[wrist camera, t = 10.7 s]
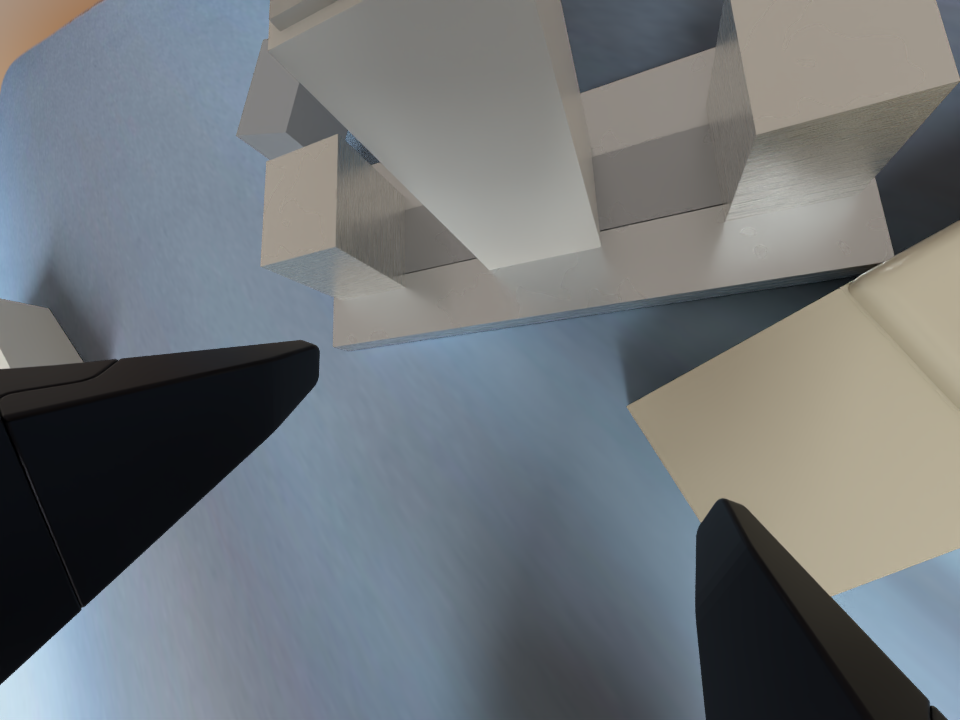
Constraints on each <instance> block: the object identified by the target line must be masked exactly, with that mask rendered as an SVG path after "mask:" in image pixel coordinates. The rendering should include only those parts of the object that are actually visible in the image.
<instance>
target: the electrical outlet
mask: <svg viewBox="0 0 960 720" xmlns="http://www.w3.org/2000/svg"><path fill="white" fill-rule="evenodd" d="M626 407H627V408H628V410H629V411H630V413H631V415H632V416H633V418H634V419H635V421H636V422H637V424H638V425H639V427H640V429H641V430H642V432H643V433H644V435H645V436H646V438H647V439H648V441H649V443H650V444H651V446H652V447H653V449H654V450H655V452H656V454H657V455H658V457H659V458H660V460H661V461H662V463H663V464H664V466H665V468H666V469H667V471H668V472H669V474H670V475H671V477H672V478H673V480H674V482H675V483H676V485H677V486H678V488H679V489H680V491H681V492H682V494H683V496H684V497H685V499H686V500H687V502H688V503H689V505H690V506H691V508H692V510H693V511H694V513H695V514H696V516H697V517H698V519H699V521H700V522H702V521H703V520H704V518H705V517H706V515H707V514H708V512H709V511H710V509H711V508H712V506H713V505H714V504H715V502H716V501H717V500H718V499H721V498H726V499H728V500H731V501H734V502H736V503H739V504H742V505H744V506H745V507H746V508H747V509H748V510H749V511H750V512H751V513H752V514H753V515H754V516H755V517H756V518H757V519H758V520H759V522H760V523H761V524H762V525H763V526H764V527H765V528H766V529H767V530H768V531H769V532H770V533H771V534H772V535H773V536H774V537H775V538H776V539H777V540H778V542H779V543H780V544H781V545H782V546H783V547H784V548H785V549H786V550H787V551H788V552H789V553H790V554H791V555H792V556H793V557H794V558H795V559H796V561H797V562H798V563H799V564H800V565H801V566H802V567H803V568H804V569H805V570H806V571H807V572H808V573H809V574H810V575H811V576H812V577H813V578H814V579H815V581H816V582H817V583H818V584H819V585H820V586H821V587H822V588H823V589H824V590H825V591H826V592H827V593H828V594H829V595H830V596H834V595H836V594H839V593H842V592H844V591H847V590H850V589H852V588H855V587H858V586H860V585H863V584H865V583H868V582H871V581H873V580H876V579H879V578H881V577H884V576H887V575H889V574H892V573H895V572H897V571H900V570H903V569H905V568H908V567H911V566H913V565H916V564H919V563H921V562H924V561H927V560H929V559H932V558H935V557H937V556H940V555H943V554H945V553H948V552H950V551H953V550H956V549H958V548H960V220H958V221H957V222H955V223H953V224H951V225H949V226H948V227H946V228H944V229H942V230H940V231H939V232H937V233H935V234H933V235H931V236H930V237H928V238H926V239H924V240H922V241H921V242H919V243H917V244H915V245H913V246H912V247H910V248H908V249H906V250H904V251H903V252H901V253H899V254H897V255H895V256H894V257H892V258H890V259H888V260H886V261H885V262H883V263H881V264H879V265H877V266H876V267H874V268H872V269H870V270H868V271H867V272H865V273H863V274H861V275H860V276H859V277H857V278H856V279H855V280H853V281H851V282H849V283H847V284H846V285H844V286H842V287H840V288H839V289H837V290H835V291H833V292H831V293H829V294H828V295H826V296H824V297H822V298H820V299H819V300H817V301H815V302H813V303H811V304H810V305H808V306H806V307H804V308H802V309H801V310H799V311H797V312H795V313H793V314H792V315H790V316H788V317H786V318H784V319H783V320H781V321H779V322H777V323H775V324H774V325H772V326H770V327H768V328H766V329H765V330H763V331H761V332H759V333H757V334H756V335H754V336H752V337H750V338H748V339H747V340H745V341H743V342H741V343H739V344H738V345H736V346H734V347H732V348H730V349H729V350H727V351H725V352H723V353H721V354H720V355H718V356H716V357H714V358H712V359H711V360H709V361H707V362H705V363H703V364H702V365H700V366H698V367H696V368H694V369H693V370H691V371H689V372H687V373H685V374H684V375H682V376H680V377H678V378H676V379H675V380H673V381H671V382H669V383H667V384H666V385H664V386H662V387H660V388H658V389H657V390H655V391H653V392H651V393H649V394H648V395H646V396H644V397H642V398H640V399H639V400H637V401H635V402H633V403H631V404H630V405H628V406H626Z"/></svg>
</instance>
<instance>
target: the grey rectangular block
mask: <svg viewBox="0 0 960 720" xmlns="http://www.w3.org/2000/svg"><path fill="white" fill-rule="evenodd" d="M347 131H348V130H347V129H346V128H345V127H344V126H343V125H342V124H341V123H340V122H339V121H338V120H337V119H336V118H335V117H334V116H333V115H332V114H331V113H330V112H329V111H328V110H327V109H326V108H325V107H324V106H323V105H322V104H321V103H320V102H319V101H318V100H317V99H316V98H315V97H314V96H313V95H312V94H311V93H310V92H309V91H308V90H307V89H306V88H305V87H304V86H303V85H302V84H301V83H300V82H299V81H298V80H297V79H296V78H295V77H294V76H293V75H292V74H291V73H290V72H289V71H288V70H287V69H286V68H285V67H284V66H283V65H282V64H281V63H280V62H279V61H278V60H277V59H276V58H275V57H274V56H273V55H271V54H270V53H269V52H268V39H265V40H263V42H262V46H261V50H260V53H259V57H258V60H257V64H256V67H255V71H254V74H253V78H252V81H251V85H250V88H249V92H248V95H247V99H246V102H245V106H244V110H243V113H242V117H241V120H240V124H239V127H238V131H237V134H236V136H237V137H238V138H240V139H241V140H243V141H244V142H245V143H247V144H248V145H250V146H251V147H252V148H254V149H255V150H257V151H258V152H259V153H261V154H262V155H264V156H265V157H267V158H268V159H269V160H272V159H275V158H277V157H280V156H282V155H285V154H287V153H290V152H292V151H295V150H298V149H300V148H303V147H305V146H308V145H310V144H313V143H315V142H318V141H321V140H323V139H326V138H328V137H331V136H333V135H336V134H339V135H340V136H341V137H342V138H343V139H344V140H345V139H346V135H347Z"/></svg>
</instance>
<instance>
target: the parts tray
mask: <svg viewBox="0 0 960 720" xmlns="http://www.w3.org/2000/svg"><path fill="white" fill-rule="evenodd" d="M82 362H83V361H82V359H81V358H80V356H79V355H78V353H77V351H76V350H75V348H74V347H73V345H72V344H71V342H70V341H69V339H68V337H67V336H66V334H65V333H64V331H63V330H62V328H61V327H60V325H59V323H58V322H57V320H56V319H55V317H54V316H53V314H52V313H51V311H50V310H49V308H44V307H39V306H34V305H30V304H25V303H20V302H15V301H10V300H5V299H0V369H7V368H22V367H35V366H49V365H61V364H72V363H82Z"/></svg>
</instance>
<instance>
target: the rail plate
mask: <svg viewBox="0 0 960 720" xmlns="http://www.w3.org/2000/svg"><path fill="white" fill-rule="evenodd" d="M959 82H960V78H959V75H958V71H957V68H956V65H955V61H954V58H953V55H952V52H951V48H950V45H949V42H948V39H947V35H946V32H945V29H944V25H943V22H942V19H941V16H940V12H939V9H938V6H937V3H936V0H724V2H723V8H722V14H721V19H720V25H719V31H718V37H717V43H716V47H714V48H711V49H708V50H706V51H703V52H700V53H697V54H694V55H691V56H688V57H685V58H682V59H679V60H676V61H673V62H671V63H668V64H665V65H662V66H659V67H656V68H653V69H650V70H647V71H644V72H641V73H639V74H636V75H633V76H630V77H627V78H624V79H621V80H618V81H615V82H612V83H609V84H606V85H604V86H601V87H598V88H595V89H592V90H589V91H586V92H583V93H580V95H581V100H582V105H583V110H584V114H585V119H586V124H587V129H588V133H589V138H590V145H591V154H592V163H593V173H594V182H595V192H596V201H597V210H598V220H599V229H600V238H601V247H599V248H595V249H590V250H585V251H580V252H575V253H570V254H565V255H560V256H555V257H551V258H546V259H541V260H536V261H531V262H526V263H521V264H516V265H511V266H507V267H502V268H497V269H492V270H489V269H488V268H487V267H486V266H485V265H484V264H483V263H482V262H481V261H480V260H479V259H478V258H477V257H476V256H475V255H474V254H473V253H472V252H471V251H470V250H469V249H468V248H467V247H466V246H464V245H463V244H462V243H461V242H460V241H459V240H458V239H457V238H456V237H455V236H454V235H453V234H452V233H451V232H450V231H449V230H448V229H447V228H446V227H445V226H444V225H443V224H442V223H441V222H440V221H439V220H438V219H437V218H436V217H435V216H434V215H433V214H432V213H431V212H430V211H429V210H428V209H427V208H426V207H425V206H424V205H423V204H422V203H421V202H420V201H419V200H418V199H417V198H416V197H415V196H414V195H413V194H412V193H411V192H410V191H409V190H408V189H407V188H406V187H405V186H404V185H403V184H402V183H401V182H400V181H399V180H398V179H397V178H396V177H395V176H394V175H393V174H392V173H391V172H390V171H389V170H388V169H387V168H386V167H385V166H384V165H383V164H382V163H381V162H379V163H376V164H373V165H371V164H369V163H368V162H367V161H366V160H365V159H364V158H363V157H362V156H361V155H360V154H359V153H358V152H357V151H356V150H355V149H354V148H353V147H351V146H350V145H349V144H348V143H347V142H346V141H345V140H344V139H343V138H342V137H341V136H340V135H339V134H336V135H333V136H331V137H328V138H326V139H323V140H321V141H318V142H315V143H313V144H310V145H308V146H305V147H303V148H300V149H298V150H295V151H292V152H290V153H287V154H285V155H282V156H280V157H277V158H275V159H272V160H269V161H267V162H266V180H265V197H264V215H263V232H262V250H261V267H262V268H265V269H267V270H270V271H272V272H274V273H277V274H279V275H282V276H284V277H286V278H289V279H291V280H293V281H296V282H298V283H301V284H303V285H305V286H308V287H310V288H313V289H315V290H317V291H320V292H322V293H325V294H327V295H329V296H332V297H334V322H333V347H334V348H338V349H342V350H346V351H353V350H360V349H366V348H373V347H380V346H387V345H393V344H400V343H407V342H414V341H421V340H427V339H434V338H441V337H448V336H454V335H461V334H468V333H475V332H482V331H488V330H495V329H502V328H509V327H515V326H522V325H529V324H536V323H542V322H549V321H556V320H563V319H570V318H576V317H583V316H590V315H597V314H603V313H610V312H617V311H624V310H630V309H637V308H644V307H651V306H658V305H664V304H671V303H678V302H685V301H691V300H698V299H705V298H712V297H719V296H725V295H732V294H739V293H746V292H752V291H759V290H766V289H773V288H779V287H786V286H793V285H800V284H807V283H813V282H820V281H827V280H834V279H840V278H847V277H854V276H860V275H861V274H863V273H865V272H867V271H868V270H870V269H872V268H874V267H876V266H877V265H879V264H881V263H883V262H885V261H886V260H888V259H890V258H892V257H894V252H893V248H892V244H891V240H890V236H889V232H888V228H887V224H886V220H885V216H884V212H883V208H882V204H881V200H880V196H879V192H878V188H877V184H876V179H875V176H876V175H877V174H878V173H879V172H880V171H881V170H882V168H883V167H884V166H885V165H886V164H887V163H888V162H889V160H890V159H891V158H892V157H893V156H894V155H895V154H896V153H897V151H898V150H899V149H900V148H901V147H902V146H903V145H904V144H905V142H906V141H907V140H908V139H909V138H910V137H911V136H912V135H913V133H914V132H915V131H916V130H917V129H918V128H919V127H920V126H921V124H922V123H923V122H924V121H925V120H926V119H927V118H928V117H929V115H930V114H931V113H932V112H933V111H934V110H935V109H936V107H937V106H938V105H939V104H940V103H941V102H942V101H943V100H944V98H945V97H946V96H947V95H948V94H949V93H950V92H951V91H952V89H953V88H954V87H955V86H956V85H957V84H958V83H959Z"/></svg>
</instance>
